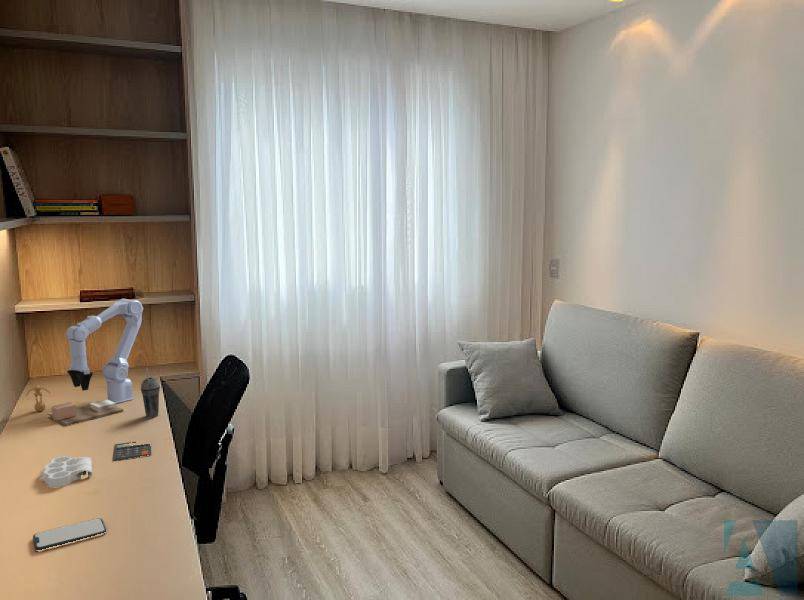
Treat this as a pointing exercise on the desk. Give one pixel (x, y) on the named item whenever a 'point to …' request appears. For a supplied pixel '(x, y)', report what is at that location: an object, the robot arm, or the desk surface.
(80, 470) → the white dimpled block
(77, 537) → the phone case
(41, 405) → the figurine
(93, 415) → the ticket board
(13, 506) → the desk surface
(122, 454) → the calculator
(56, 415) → the tall pink cuboid
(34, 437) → the desk surface
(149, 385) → the beverage cup
